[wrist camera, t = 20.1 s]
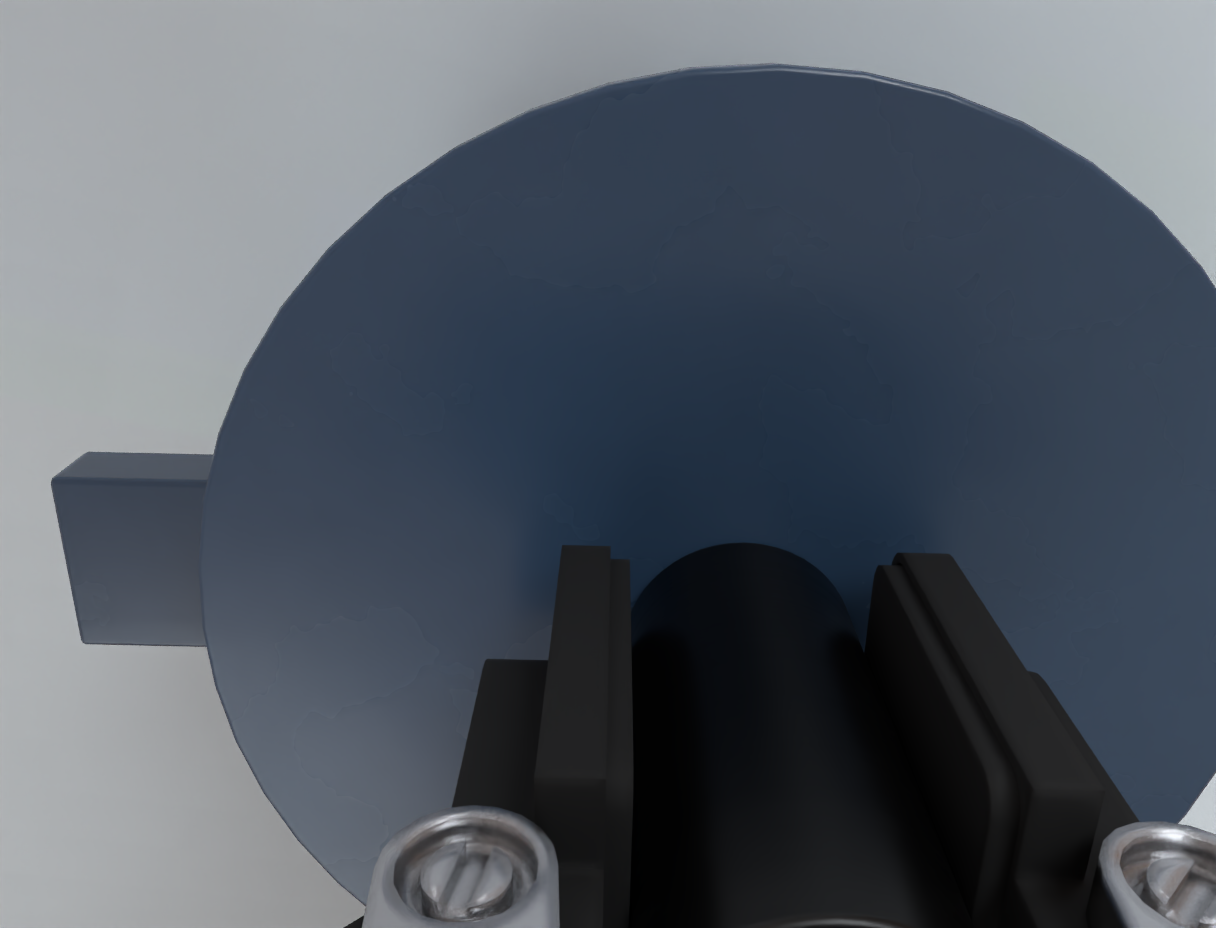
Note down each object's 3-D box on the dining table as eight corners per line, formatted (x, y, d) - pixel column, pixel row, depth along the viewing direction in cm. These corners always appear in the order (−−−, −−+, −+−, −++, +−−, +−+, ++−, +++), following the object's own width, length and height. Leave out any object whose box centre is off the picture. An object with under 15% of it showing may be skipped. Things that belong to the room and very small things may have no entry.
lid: (167, 49, 11) (-427, 55, 5) (1363, 75, 11) (2343, 114, 5) (282, 950, 16) (58, 1550, 9) (1121, 969, 16) (1453, 1585, 9)
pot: (234, 70, 19) (-71, 89, 11) (1170, 89, 19) (1608, 125, 11) (293, 623, 23) (110, 949, 15) (1056, 641, 23) (1303, 977, 15)
